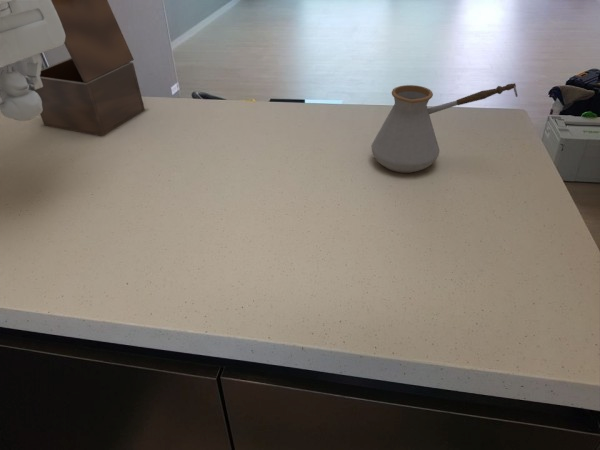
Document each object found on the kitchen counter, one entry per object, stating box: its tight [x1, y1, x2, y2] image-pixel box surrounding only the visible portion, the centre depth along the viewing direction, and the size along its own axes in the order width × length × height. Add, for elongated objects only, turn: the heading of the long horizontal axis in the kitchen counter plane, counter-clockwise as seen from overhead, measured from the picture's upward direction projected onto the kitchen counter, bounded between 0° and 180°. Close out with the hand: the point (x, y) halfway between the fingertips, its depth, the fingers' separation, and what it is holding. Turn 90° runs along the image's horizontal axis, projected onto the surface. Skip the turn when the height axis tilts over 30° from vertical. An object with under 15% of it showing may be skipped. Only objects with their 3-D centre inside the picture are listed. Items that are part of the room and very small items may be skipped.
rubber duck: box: [0, 64, 43, 122], centre depth 63 cm, size 5×7×8 cm
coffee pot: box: [371, 82, 518, 174], centre depth 75 cm, size 21×12×15 cm, turn 78°
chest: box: [25, 57, 146, 137], centre depth 95 cm, size 16×14×11 cm
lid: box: [51, 0, 135, 83], centre depth 84 cm, size 16×14×5 cm
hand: (16, 96), depth 63 cm, fingers closed on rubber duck, 5 cm apart
